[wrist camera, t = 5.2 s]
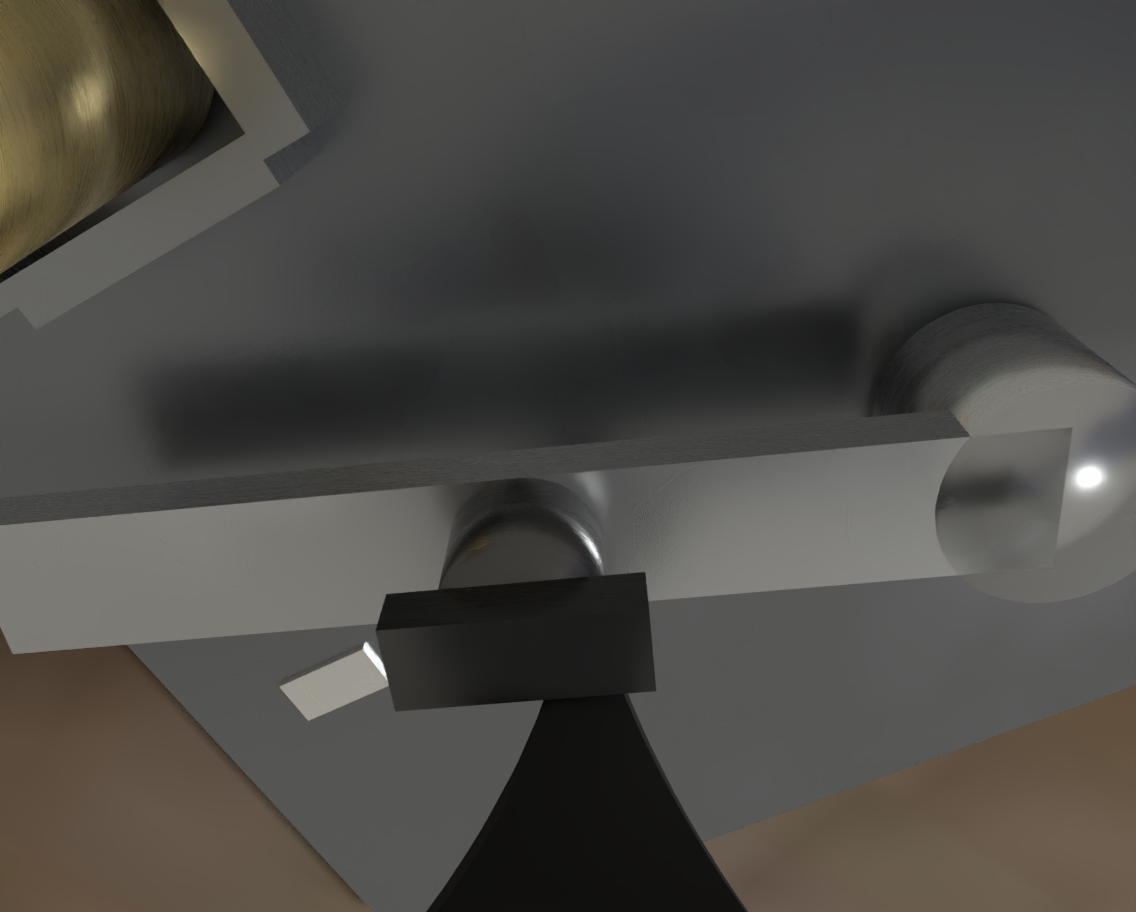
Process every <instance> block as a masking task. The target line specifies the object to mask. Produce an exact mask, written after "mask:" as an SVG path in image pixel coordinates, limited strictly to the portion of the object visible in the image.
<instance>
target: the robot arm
mask: <svg viewBox="0 0 1136 912" xmlns="http://www.w3.org/2000/svg"><path fill="white" fill-rule="evenodd" d="M426 912H748V911H747V910H746V908H745V907H744V905H743V904H742V902H741V901H740V900H739V898H738V897H737V895H736V894H735V892H734V891H733V889H732V888H731V886H730V885H729V883H728V882H727V880H726V879H725V877H724V876H723V874H722V873H721V871H720V869H719V868H718V866H717V865H716V863H715V862H714V860H713V858H712V857H711V855H710V854H709V852H708V850H707V849H706V847H705V845H704V844H703V842H702V840H701V838H700V837H699V835H698V833H697V832H696V830H695V828H694V827H693V825H692V823H691V821H690V820H689V818H688V816H687V815H686V813H685V811H684V809H683V807H682V805H681V804H680V802H679V800H678V798H677V796H676V795H675V793H674V791H673V789H672V787H671V785H670V783H669V781H668V779H667V777H666V775H665V773H664V771H663V769H662V767H661V765H660V763H659V761H658V759H657V757H656V755H655V753H654V751H653V749H652V747H651V745H650V743H649V741H648V739H647V737H646V734H645V732H644V730H643V728H642V725H641V723H640V721H639V719H638V716H637V714H636V712H635V709H634V707H633V705H632V702H631V700H630V697H629V695H628V694H615V695H602V696H589V697H576V698H563V699H551V700H543V703H542V706H541V708H540V711H539V714H538V717H537V719H536V722H535V724H534V726H533V729H532V731H531V733H530V735H529V738H528V740H527V742H526V745H525V747H524V749H523V751H522V754H521V756H520V758H519V760H518V762H517V764H516V767H515V769H514V771H513V772H512V774H511V776H510V778H509V780H508V782H507V784H506V785H505V787H504V789H503V791H502V793H501V795H500V797H499V798H498V800H497V802H496V804H495V806H494V808H493V810H492V811H491V813H490V815H489V817H488V819H487V820H486V822H485V824H484V825H483V827H482V829H481V830H480V832H479V834H478V835H477V837H476V839H475V840H474V842H473V844H472V845H471V847H470V848H469V850H468V852H467V853H466V855H465V856H464V858H463V859H462V861H461V862H460V864H459V865H458V867H457V868H456V870H455V871H454V873H453V874H452V876H451V877H450V879H449V880H448V882H447V883H446V885H445V886H444V888H443V889H442V891H441V892H440V893H439V895H438V896H437V897H436V899H435V900H434V902H433V903H432V904H431V906H430V907H429V908H428V910H427V911H426Z"/></svg>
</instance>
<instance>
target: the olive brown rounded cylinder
mask: <svg viewBox="0 0 1136 912" xmlns="http://www.w3.org/2000/svg"><path fill="white" fill-rule="evenodd" d="M213 93H214V85H213V84H212V82H211V81H210V79H209V78H208V76H207V75H206V73H205V72H204V70H203V69H202V67H201V66H200V64H199V63H198V61H197V60H196V58H195V57H194V55H193V54H192V52H191V51H190V49H189V48H188V46H187V45H186V43H185V42H184V40H183V39H182V37H181V35H180V34H179V32H178V31H177V29H176V28H175V26H174V25H173V23H172V22H171V20H170V19H169V17H168V16H167V14H166V13H165V11H164V10H163V8H162V7H161V5H160V4H159V2H158V1H157V0H0V274H1V273H2V272H4V271H5V270H7V269H8V268H10V267H11V266H13V265H14V264H16V263H17V262H19V261H20V260H22V259H23V258H25V257H26V256H28V255H30V254H31V253H33V252H34V251H36V250H37V249H39V248H40V247H42V246H43V245H45V244H46V243H48V242H49V241H51V240H52V239H54V238H55V237H57V236H58V235H60V234H61V233H63V232H64V231H66V230H67V229H69V228H70V227H72V226H73V225H75V224H76V223H78V222H79V221H81V220H82V219H84V218H85V217H87V216H88V215H90V214H91V213H93V212H94V211H96V210H97V209H99V208H100V207H102V206H103V205H105V204H106V203H108V202H109V201H111V200H112V199H114V198H115V197H117V196H118V195H120V194H121V193H123V192H124V191H126V190H127V189H129V188H130V187H132V186H133V185H135V184H136V183H138V182H140V181H141V180H143V179H144V178H146V177H147V176H149V175H150V174H152V173H153V172H155V171H156V170H158V169H159V168H161V167H162V166H164V165H165V164H167V163H168V162H170V161H171V160H173V159H174V158H175V157H177V156H178V155H179V154H180V153H181V152H182V151H184V150H185V149H186V148H187V146H188V145H189V144H190V143H191V142H192V141H193V139H194V138H195V137H196V135H197V134H198V132H199V130H200V129H201V127H202V126H203V124H204V121H205V119H206V117H207V114H208V112H209V109H210V105H211V101H212V98H213Z"/></svg>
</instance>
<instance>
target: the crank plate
mask: <svg viewBox="0 0 1136 912" xmlns="http://www.w3.org/2000/svg"><path fill="white" fill-rule="evenodd" d="M157 1H158V2H159V4H160V5H161V7H162V8H163V10H164V11H165V13H166V14H167V16H168V17H169V19H170V20H171V22H172V23H173V25H174V26H175V28H176V29H177V31H178V32H179V34H180V35H181V37H182V39H183V40H184V42H185V43H186V45H187V46H188V48H189V49H190V51H191V52H192V54H193V55H194V57H195V58H196V60H197V61H198V63H199V64H200V66H201V67H202V69H203V70H204V72H205V73H206V75H207V76H208V78H209V79H210V81H211V82H212V84H213V85H214V93H213V98H212V101H211V105H210V109H209V112H208V114H207V117H206V119H205V121H204V124H203V126H202V127H201V129H200V130H199V132H198V134H197V135H196V137H195V138H194V139H193V141H192V142H191V143H190V144H189V145H188V146H187V148H186V149H185V150H184V151H182V152H181V153H180V154H179V155H178V156H177V157H175V158H174V159H173V160H171V161H170V162H168V163H167V164H165V165H164V166H162V167H161V168H159V169H158V170H156V171H155V172H153V173H152V174H150V175H149V176H147V177H146V178H144V179H143V180H141V181H140V182H138V183H136V184H135V185H133V186H132V187H130V188H129V189H127V190H126V191H124V192H123V193H121V194H120V195H118V196H117V197H115V198H114V199H112V200H111V201H109V202H108V203H106V204H105V205H103V206H102V207H100V208H99V209H97V210H96V211H94V212H93V213H91V214H90V215H88V216H87V217H85V218H84V219H82V220H81V221H79V222H78V223H76V224H75V225H73V226H72V227H70V228H69V229H67V230H66V231H64V232H63V233H61V234H60V235H58V236H57V237H55V238H54V239H52V240H51V241H49V242H48V243H46V244H45V245H43V246H42V247H40V248H39V249H37V250H36V251H34V252H33V253H31V254H30V255H28V256H26V257H25V258H23V259H22V260H20V261H19V262H17V263H16V264H14V265H13V266H11V267H10V268H8V269H7V270H5V271H4V272H2V273H1V274H0V498H7V497H17V496H28V495H39V494H50V493H60V492H71V491H82V490H93V489H103V488H114V487H125V486H135V485H146V484H157V483H168V482H178V481H189V480H200V479H210V478H221V477H232V476H243V475H253V474H264V473H275V472H285V471H296V470H307V469H318V468H328V467H339V466H350V465H361V464H371V463H382V462H393V461H403V460H414V459H425V458H436V457H446V456H457V455H468V454H478V453H489V452H500V451H511V450H521V449H532V448H543V447H553V446H564V445H575V444H586V443H596V442H607V441H618V440H629V439H639V438H650V437H661V436H671V435H682V434H693V433H704V432H714V431H725V430H736V429H746V428H757V427H768V426H779V425H789V424H800V423H811V422H821V421H832V420H843V419H854V418H864V417H873V413H872V412H873V403H874V397H875V393H876V389H877V386H878V383H879V381H880V378H881V376H882V374H883V372H884V370H885V368H886V367H887V365H888V363H889V362H890V360H891V359H892V357H893V356H894V355H895V353H896V352H897V351H898V350H899V348H900V347H901V346H902V345H903V344H904V343H905V342H906V341H907V340H908V339H909V338H910V337H911V336H913V335H914V334H915V333H916V332H917V331H919V330H920V329H921V328H923V327H924V326H926V325H927V324H929V323H930V322H932V321H934V320H936V319H937V318H939V317H941V316H943V315H945V314H948V313H950V312H953V311H955V310H958V309H961V308H965V307H969V306H973V305H979V304H985V303H1008V304H1016V305H1021V306H1025V307H1029V308H1032V309H1034V310H1037V311H1039V312H1041V313H1043V314H1045V315H1047V316H1049V317H1050V318H1052V319H1053V320H1054V321H1056V322H1057V323H1058V324H1059V325H1061V326H1062V327H1063V328H1065V329H1066V330H1067V331H1068V332H1070V333H1071V334H1072V335H1073V336H1075V337H1076V338H1077V339H1079V340H1080V341H1081V342H1082V343H1084V344H1085V345H1086V346H1087V347H1089V348H1090V349H1091V350H1093V351H1094V352H1095V353H1096V354H1098V355H1099V356H1100V357H1101V358H1103V359H1104V360H1105V361H1107V362H1108V363H1109V364H1110V365H1112V366H1113V367H1114V368H1115V369H1117V370H1118V371H1119V372H1121V373H1122V374H1123V375H1124V376H1126V377H1127V378H1128V379H1129V380H1131V381H1132V382H1133V383H1135V384H1136V0H157ZM648 602H649V613H650V624H651V635H652V647H653V658H654V670H655V681H656V691H653V692H640V693H628V695H629V697H630V700H631V702H632V705H633V707H634V709H635V712H636V714H637V716H638V719H639V721H640V723H641V725H642V728H643V730H644V732H645V734H646V737H647V739H648V741H649V743H650V745H651V747H652V749H653V751H654V753H655V755H656V757H657V759H658V761H659V763H660V765H661V767H662V769H663V771H664V773H665V775H666V777H667V779H668V781H669V783H670V785H671V787H672V789H673V791H674V793H675V795H676V796H677V798H678V800H679V802H680V804H681V805H682V807H683V809H684V811H685V813H686V815H687V816H688V818H689V820H690V821H691V823H692V825H693V827H694V828H695V830H696V832H697V833H698V835H699V837H700V838H701V840H702V842H703V841H706V840H709V839H712V838H714V837H717V836H720V835H723V834H725V833H728V832H731V831H734V830H737V829H739V828H742V827H745V826H748V825H750V824H753V823H756V822H759V821H761V820H764V819H767V818H770V817H772V816H775V815H778V814H781V813H784V812H786V811H789V810H792V809H795V808H797V807H800V806H803V805H806V804H808V803H811V802H814V801H817V800H819V799H822V798H825V797H828V796H831V795H833V794H836V793H839V792H842V791H844V790H847V789H850V788H853V787H855V786H858V785H861V784H864V783H866V782H869V781H872V780H875V779H878V778H880V777H883V776H886V775H889V774H891V773H894V772H897V771H900V770H902V769H905V768H908V767H911V766H913V765H916V764H919V763H922V762H925V761H927V760H930V759H933V758H936V757H938V756H941V755H944V754H947V753H949V752H952V751H955V750H958V749H960V748H963V747H966V746H969V745H972V744H974V743H977V742H980V741H983V740H985V739H988V738H991V737H994V736H996V735H999V734H1002V733H1005V732H1008V731H1010V730H1013V729H1016V728H1019V727H1021V726H1024V725H1027V724H1030V723H1032V722H1035V721H1038V720H1041V719H1043V718H1046V717H1049V716H1052V715H1055V714H1057V713H1060V712H1063V711H1066V710H1068V709H1071V708H1074V707H1077V706H1079V705H1082V704H1085V703H1088V702H1090V701H1093V700H1096V699H1099V698H1102V697H1104V696H1107V695H1110V694H1113V693H1115V692H1118V691H1121V690H1124V689H1126V688H1129V687H1132V686H1135V685H1136V570H1135V571H1133V572H1132V573H1130V574H1129V575H1128V576H1126V577H1124V578H1122V579H1121V580H1119V581H1117V582H1115V583H1114V584H1112V585H1110V586H1107V587H1105V588H1103V589H1101V590H1098V591H1096V592H1093V593H1090V594H1087V595H1084V596H1081V597H1077V598H1073V599H1069V600H1065V601H1057V602H1050V603H1025V602H1016V601H1010V600H1005V599H1001V598H998V597H995V596H992V595H989V594H987V593H985V592H983V591H981V590H979V589H977V588H975V587H974V586H972V585H971V584H969V583H968V582H966V581H965V580H964V579H963V578H962V577H961V576H960V575H955V576H943V577H931V578H919V579H907V580H895V581H883V582H871V583H859V584H847V585H835V586H823V587H811V588H799V589H787V590H775V591H763V592H751V593H739V594H727V595H715V596H703V597H691V598H679V599H667V600H655V601H648ZM376 627H377V624H368V625H356V626H344V627H332V628H320V629H308V630H296V631H284V632H272V633H260V634H248V635H236V636H224V637H212V638H200V639H188V640H176V641H164V642H152V643H140V644H128V645H127V646H128V647H129V648H130V649H131V650H132V651H133V652H134V653H135V654H136V656H137V657H138V658H139V659H140V660H141V661H142V662H143V663H144V664H145V665H146V666H147V667H148V669H149V670H150V671H151V672H152V673H153V674H154V675H155V676H156V677H157V678H158V679H159V680H160V682H161V683H162V684H163V685H164V686H165V687H166V688H167V689H168V690H169V691H170V692H171V693H172V695H173V696H174V697H175V698H176V699H177V700H178V701H179V702H180V703H181V704H182V705H183V706H184V708H185V709H186V710H187V711H188V712H189V713H190V714H191V715H192V716H193V717H194V718H195V719H196V721H197V722H198V723H199V724H200V725H201V726H202V727H203V728H204V729H205V730H206V731H207V732H208V734H209V735H210V736H211V737H212V738H213V739H214V740H215V741H216V742H217V743H218V744H219V745H220V747H221V748H222V749H223V750H224V751H225V752H226V753H227V754H228V755H229V756H230V757H231V758H232V760H233V761H234V762H235V763H236V764H237V765H238V766H239V767H240V768H241V769H242V770H243V771H244V773H245V774H246V775H247V776H248V777H249V778H250V779H251V780H252V781H253V782H254V783H255V784H256V786H257V787H258V788H259V789H260V790H261V791H262V792H263V793H264V794H265V795H266V796H267V797H268V799H269V800H270V801H271V802H272V803H273V804H274V805H275V806H276V807H277V808H278V809H279V810H280V812H281V813H282V814H283V815H284V816H285V817H286V818H287V819H288V820H289V821H290V822H291V824H292V825H293V826H294V827H295V828H296V829H297V830H298V831H299V832H300V833H301V834H302V835H303V837H304V838H305V839H306V840H307V841H308V842H309V843H310V844H311V845H312V846H313V847H314V848H315V850H316V851H317V852H318V853H319V854H320V855H321V856H322V857H323V858H324V859H325V860H326V861H327V863H328V864H329V865H330V866H331V867H332V868H333V869H334V870H335V871H336V872H337V873H338V874H339V876H340V877H341V878H342V879H343V880H344V881H345V882H346V883H347V884H348V885H349V886H350V887H351V889H352V890H353V891H354V892H355V893H356V894H357V895H358V896H359V897H360V898H361V899H362V900H363V902H364V903H365V904H366V905H367V906H368V907H369V908H370V909H371V910H372V911H373V912H426V911H427V910H428V908H429V907H430V906H431V904H432V903H433V902H434V900H435V899H436V897H437V896H438V895H439V893H440V892H441V891H442V889H443V888H444V886H445V885H446V883H447V882H448V880H449V879H450V877H451V876H452V874H453V873H454V871H455V870H456V868H457V867H458V865H459V864H460V862H461V861H462V859H463V858H464V856H465V855H466V853H467V852H468V850H469V848H470V847H471V845H472V844H473V842H474V840H475V839H476V837H477V835H478V834H479V832H480V830H481V829H482V827H483V825H484V824H485V822H486V820H487V819H488V817H489V815H490V813H491V811H492V810H493V808H494V806H495V804H496V802H497V800H498V798H499V797H500V795H501V793H502V791H503V789H504V787H505V785H506V784H507V782H508V780H509V778H510V776H511V774H512V772H513V771H514V769H515V767H516V764H517V762H518V760H519V758H520V756H521V754H522V751H523V749H524V747H525V745H526V742H527V740H528V738H529V735H530V733H531V731H532V729H533V726H534V724H535V722H536V719H537V717H538V714H539V711H540V708H541V706H542V703H543V700H538V701H525V702H512V703H499V704H487V705H474V706H461V707H448V708H435V709H422V710H410V711H397V712H395V709H394V705H393V701H392V697H391V693H390V689H389V685H388V680H387V676H386V672H385V668H384V664H383V660H382V656H381V652H380V648H379V644H378V640H377V636H376V632H375V630H376Z"/></svg>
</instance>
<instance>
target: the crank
mask: <svg viewBox="0 0 1136 912" xmlns="http://www.w3.org/2000/svg"><path fill="white" fill-rule="evenodd" d="M872 413H873V417H864V418H854V419H843V420H832V421H821V422H811V423H800V424H789V425H779V426H768V427H757V428H746V429H736V430H725V431H714V432H704V433H693V434H682V435H671V436H661V437H650V438H639V439H629V440H618V441H607V442H596V443H586V444H575V445H564V446H553V447H543V448H532V449H521V450H511V451H500V452H489V453H478V454H468V455H457V456H446V457H436V458H425V459H414V460H403V461H393V462H382V463H371V464H361V465H350V466H339V467H328V468H318V469H307V470H296V471H285V472H275V473H264V474H253V475H243V476H232V477H221V478H210V479H200V480H189V481H178V482H168V483H157V484H146V485H135V486H125V487H114V488H103V489H93V490H82V491H71V492H60V493H50V494H39V495H28V496H17V497H7V498H0V627H1V630H2V632H3V634H4V636H5V638H6V640H7V643H8V645H9V647H10V649H11V651H12V653H13V654H20V653H32V652H44V651H56V650H68V649H80V648H92V647H104V646H116V645H128V644H140V643H152V642H164V641H176V640H188V639H200V638H212V637H224V636H236V635H248V634H260V633H272V632H284V631H296V630H308V629H320V628H332V627H344V626H356V625H368V624H377V627H376V630H375V632H376V636H377V640H378V644H379V648H380V652H381V656H382V660H383V664H384V668H385V672H386V676H387V680H388V685H389V689H390V693H391V697H392V701H393V705H394V709H395V712H397V711H410V710H422V709H435V708H448V707H461V706H474V705H487V704H499V703H512V702H525V701H538V700H551V699H563V698H576V697H589V696H602V695H615V694H628V693H640V692H653V691H656V681H655V670H654V658H653V647H652V635H651V624H650V613H649V602H648V601H655V600H667V599H679V598H691V597H703V596H715V595H727V594H739V593H751V592H763V591H775V590H787V589H799V588H811V587H823V586H835V585H847V584H859V583H871V582H883V581H895V580H907V579H919V578H931V577H943V576H955V575H960V576H961V577H962V578H963V579H964V580H965V581H966V582H968V583H969V584H971V585H972V586H974V587H975V588H977V589H979V590H981V591H983V592H985V593H987V594H989V595H992V596H995V597H998V598H1001V599H1005V600H1010V601H1016V602H1025V603H1050V602H1057V601H1065V600H1069V599H1073V598H1077V597H1081V596H1084V595H1087V594H1090V593H1093V592H1096V591H1098V590H1101V589H1103V588H1105V587H1107V586H1110V585H1112V584H1114V583H1115V582H1117V581H1119V580H1121V579H1122V578H1124V577H1126V576H1128V575H1129V574H1130V573H1132V572H1133V571H1135V570H1136V384H1135V383H1133V382H1132V381H1131V380H1129V379H1128V378H1127V377H1126V376H1124V375H1123V374H1122V373H1121V372H1119V371H1118V370H1117V369H1115V368H1114V367H1113V366H1112V365H1110V364H1109V363H1108V362H1107V361H1105V360H1104V359H1103V358H1101V357H1100V356H1099V355H1098V354H1096V353H1095V352H1094V351H1093V350H1091V349H1090V348H1089V347H1087V346H1086V345H1085V344H1084V343H1082V342H1081V341H1080V340H1079V339H1077V338H1076V337H1075V336H1073V335H1072V334H1071V333H1070V332H1068V331H1067V330H1066V329H1065V328H1063V327H1062V326H1061V325H1059V324H1058V323H1057V322H1056V321H1054V320H1053V319H1052V318H1050V317H1049V316H1047V315H1045V314H1043V313H1041V312H1039V311H1037V310H1034V309H1032V308H1029V307H1025V306H1021V305H1016V304H1008V303H985V304H979V305H973V306H969V307H965V308H961V309H958V310H955V311H953V312H950V313H948V314H945V315H943V316H941V317H939V318H937V319H936V320H934V321H932V322H930V323H929V324H927V325H926V326H924V327H923V328H921V329H920V330H919V331H917V332H916V333H915V334H914V335H913V336H911V337H910V338H909V339H908V340H907V341H906V342H905V343H904V344H903V345H902V346H901V347H900V348H899V350H898V351H897V352H896V353H895V355H894V356H893V357H892V359H891V360H890V362H889V363H888V365H887V367H886V368H885V370H884V372H883V374H882V376H881V378H880V381H879V383H878V386H877V389H876V393H875V397H874V403H873V412H872Z"/></svg>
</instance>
